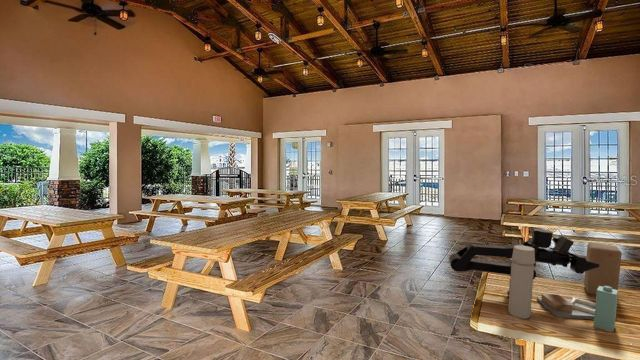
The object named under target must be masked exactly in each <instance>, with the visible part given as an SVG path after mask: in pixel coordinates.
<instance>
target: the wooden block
mask: <svg viewBox="0 0 640 360" xmlns="http://www.w3.org/2000/svg"><path fill="white" fill-rule="evenodd" d="M586 247H587V248H586V257H585V258H586V260H587V261H590V262H594V263H597V264H599V267H598V268H594V269H591V270H588V271H585V272H584V278H583V279H584V281H583V286H584V288H585V291H586V294H588V295H594V296H596V294H597V289H598V287H599V286H602V287H603V286H609V287H612V289H615V290H618V291H619V285H620V283H619V282H620V276H621V275H620V274H621V263H622V255H623V254H622V252H621V250H620V249H619V247H618V246H617V245H613V244H604V243H597V242H588V243H587V246H586Z"/></svg>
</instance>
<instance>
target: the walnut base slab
mask: <svg viewBox="0 0 640 360" xmlns="http://www.w3.org/2000/svg"><path fill="white" fill-rule="evenodd" d="M541 297H542V298H541V300H542V301H543V302H544V303H546V304H547V305H548V306H549V307H550V308H552V309H553V310H554V311H567V312H572V304H570V303H569V302H567V301H566V300H565V299H566V298H564V299H563V297H562V296H561V295H560V294H552V293H541Z"/></svg>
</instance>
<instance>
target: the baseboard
mask: <svg viewBox="0 0 640 360" xmlns="http://www.w3.org/2000/svg"><path fill="white" fill-rule="evenodd" d="M541 298H542V296H541V297H539V296H537V298H536V301H538V302H539V304H541V305H542V306H544V307H545V309H547V310H548V311H549V312H550V313H552V315H554V316H555V317H556V318H563V319H580V320H594V316H595V305H596V302H594V301H592V300H591V299H584V298H583V299H582V298H577V297H574V296H573V297H571V298H563V297H562V298H563V299H565V300H566V301H567V302H569V303H570V304H572V312H567V311H554V310H553V309H552V308H550V307H549V306H548V305H547V304H546V303H544V302H543V301H542V300H541ZM616 321H617V316H616V318H615V322H616Z"/></svg>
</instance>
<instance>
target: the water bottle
mask: <svg viewBox="0 0 640 360" xmlns="http://www.w3.org/2000/svg"><path fill="white" fill-rule="evenodd" d="M509 260H510V261H511V263H512V264H511V277H510V279H509V285H510V294H509V293H508V294H509V297H508V309H507V310H508V313H509V314H510V315H511V316H512V317H515V318H518V319H521V320H522V319H525V320H526V319H529V318H531V312H532V301H533V287H534V279H533V274H534V270H535V267H534V263H536V264H537V262H535V250H534V248H532V247H528V246H522V245H516V246H514V249H513V255H512V258H509Z"/></svg>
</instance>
